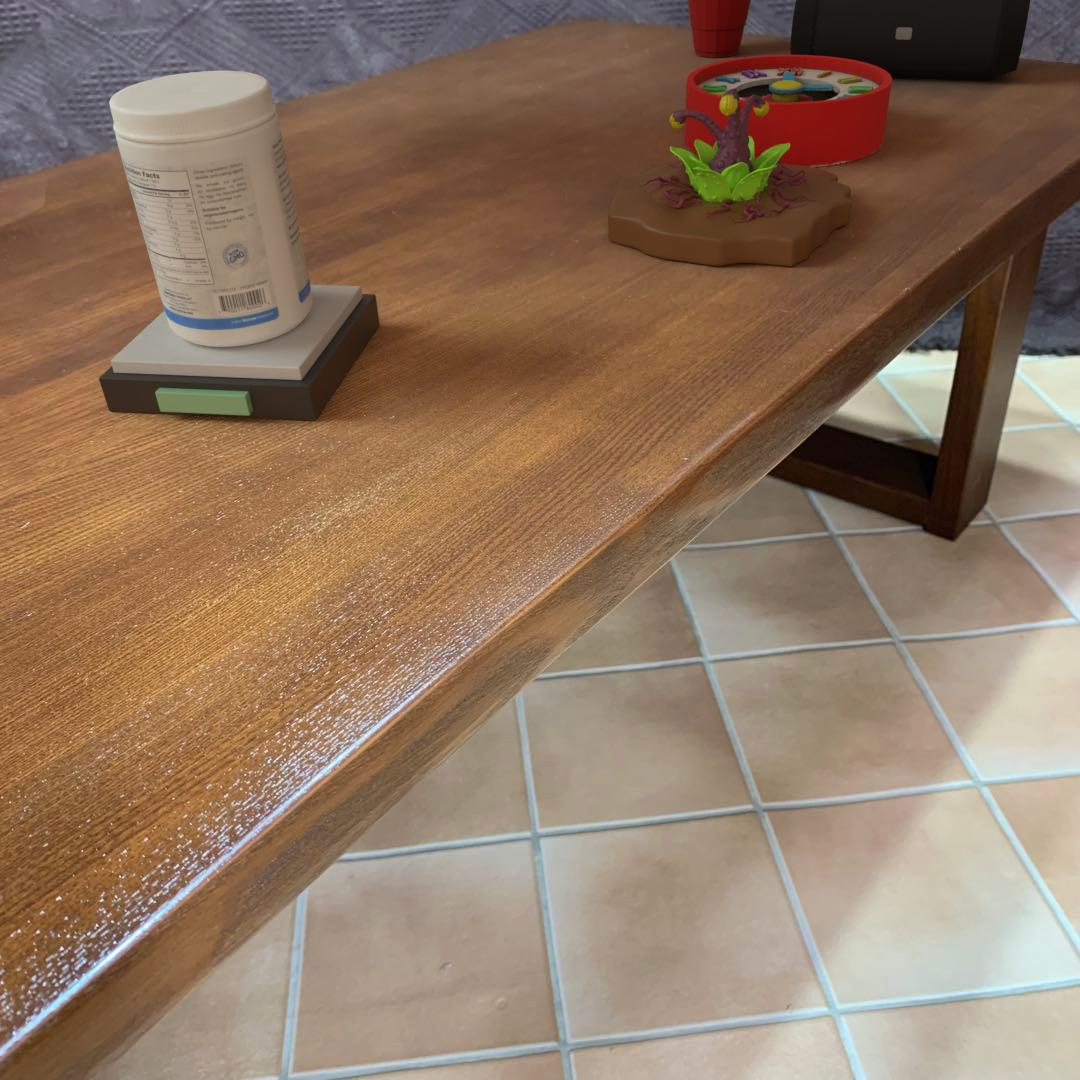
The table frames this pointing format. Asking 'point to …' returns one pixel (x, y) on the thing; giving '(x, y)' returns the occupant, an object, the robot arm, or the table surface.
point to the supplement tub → (215, 204)
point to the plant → (728, 199)
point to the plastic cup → (717, 26)
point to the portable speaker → (915, 35)
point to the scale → (246, 365)
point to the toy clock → (797, 105)
